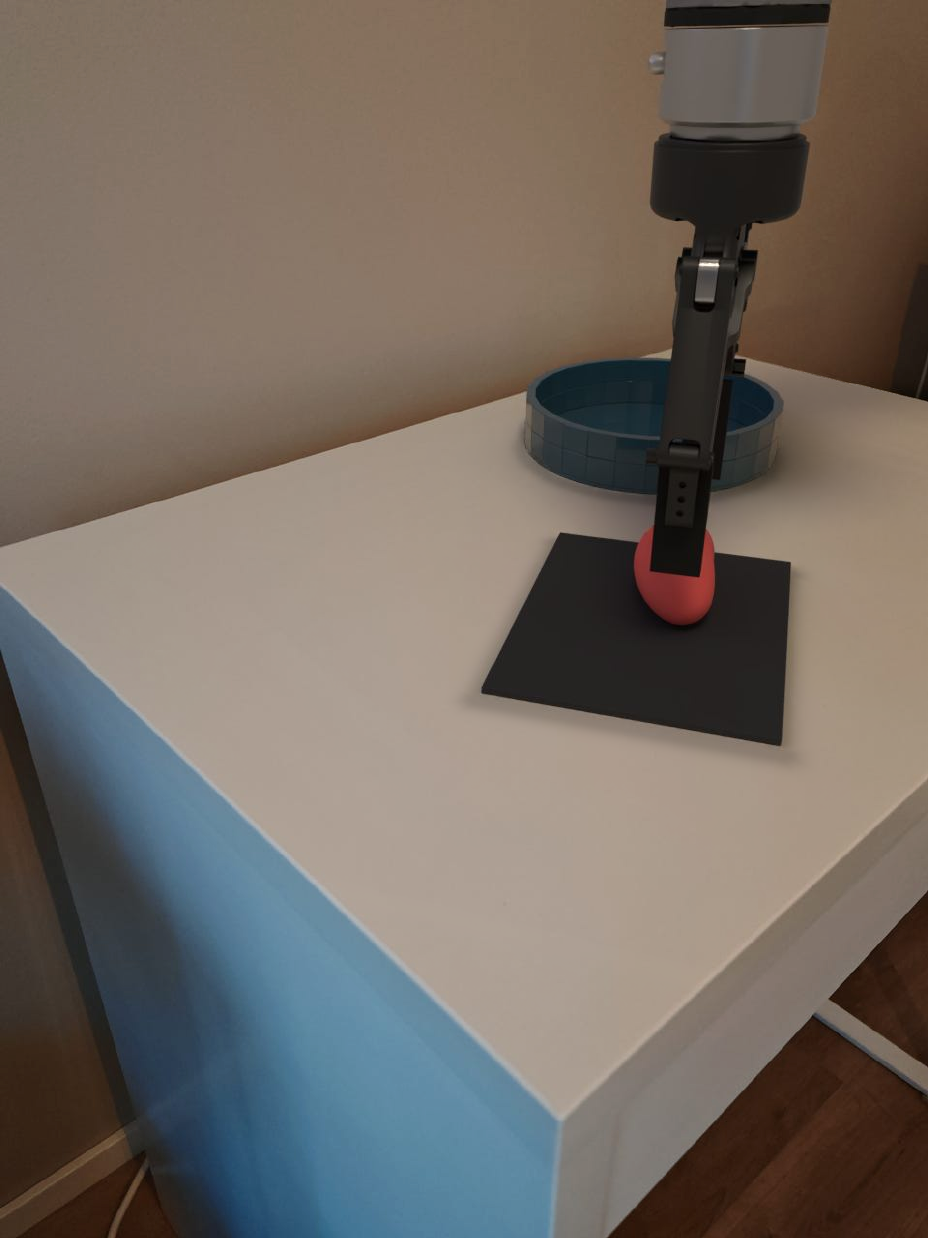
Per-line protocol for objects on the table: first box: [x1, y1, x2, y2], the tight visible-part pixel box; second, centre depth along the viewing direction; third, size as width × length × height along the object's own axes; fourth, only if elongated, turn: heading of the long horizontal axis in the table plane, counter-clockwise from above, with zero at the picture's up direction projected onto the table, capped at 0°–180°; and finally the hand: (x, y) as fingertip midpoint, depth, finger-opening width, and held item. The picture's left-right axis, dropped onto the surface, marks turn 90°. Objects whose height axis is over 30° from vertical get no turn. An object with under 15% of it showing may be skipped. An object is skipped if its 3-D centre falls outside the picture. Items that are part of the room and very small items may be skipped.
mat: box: [481, 531, 792, 746], centre depth 59 cm, size 16×20×1 cm
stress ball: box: [634, 524, 715, 625], centre depth 60 cm, size 5×9×6 cm, turn 157°
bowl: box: [524, 356, 785, 495], centre depth 84 cm, size 22×22×4 cm
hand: (688, 519), depth 59 cm, fingers open, 13 cm apart
